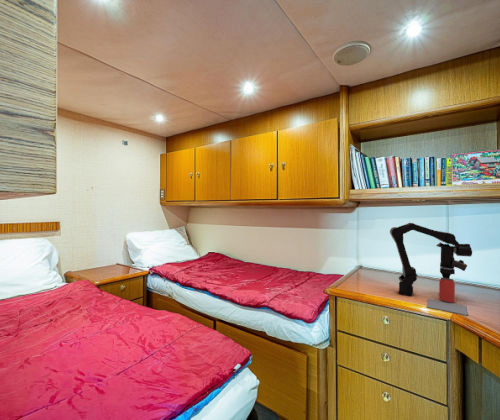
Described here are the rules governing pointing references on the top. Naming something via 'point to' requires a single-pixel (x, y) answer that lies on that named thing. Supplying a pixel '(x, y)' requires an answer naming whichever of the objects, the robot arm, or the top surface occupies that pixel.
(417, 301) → the top surface
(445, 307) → the mat
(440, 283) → the beer can
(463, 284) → the top surface
